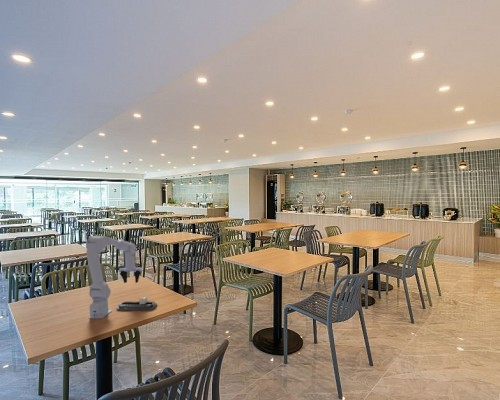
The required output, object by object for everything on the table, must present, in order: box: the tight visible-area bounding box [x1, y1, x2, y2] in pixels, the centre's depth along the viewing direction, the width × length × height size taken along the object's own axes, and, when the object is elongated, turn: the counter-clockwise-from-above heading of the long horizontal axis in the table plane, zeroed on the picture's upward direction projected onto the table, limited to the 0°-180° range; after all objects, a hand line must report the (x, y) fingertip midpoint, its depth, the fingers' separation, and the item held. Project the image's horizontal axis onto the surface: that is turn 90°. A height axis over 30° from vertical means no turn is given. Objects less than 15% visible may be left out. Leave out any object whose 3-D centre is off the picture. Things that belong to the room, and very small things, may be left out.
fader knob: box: [139, 296, 148, 304], centre depth 164 cm, size 4×3×5 cm
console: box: [116, 300, 158, 312], centre depth 165 cm, size 8×21×3 cm, turn 85°
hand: (131, 282), depth 181 cm, fingers open, 7 cm apart
